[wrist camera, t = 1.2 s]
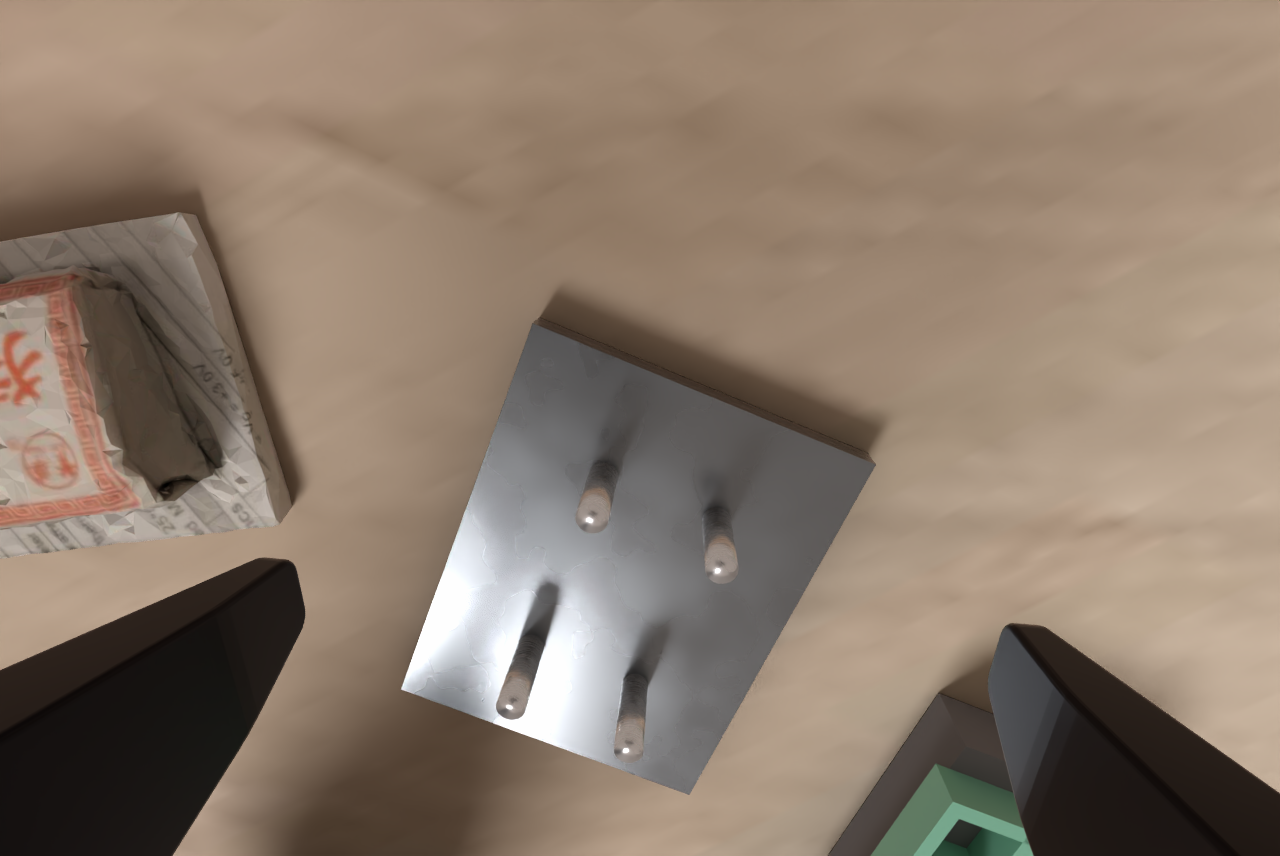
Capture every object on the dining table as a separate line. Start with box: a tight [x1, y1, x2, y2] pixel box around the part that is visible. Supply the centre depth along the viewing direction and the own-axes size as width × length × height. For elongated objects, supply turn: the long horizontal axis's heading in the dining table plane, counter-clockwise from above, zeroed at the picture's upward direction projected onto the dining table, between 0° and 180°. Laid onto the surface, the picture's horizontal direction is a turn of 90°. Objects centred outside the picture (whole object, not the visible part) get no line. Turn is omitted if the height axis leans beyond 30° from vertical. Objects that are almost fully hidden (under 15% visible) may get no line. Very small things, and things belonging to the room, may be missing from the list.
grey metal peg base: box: [401, 317, 876, 795], centre depth 22 cm, size 14×11×4 cm
